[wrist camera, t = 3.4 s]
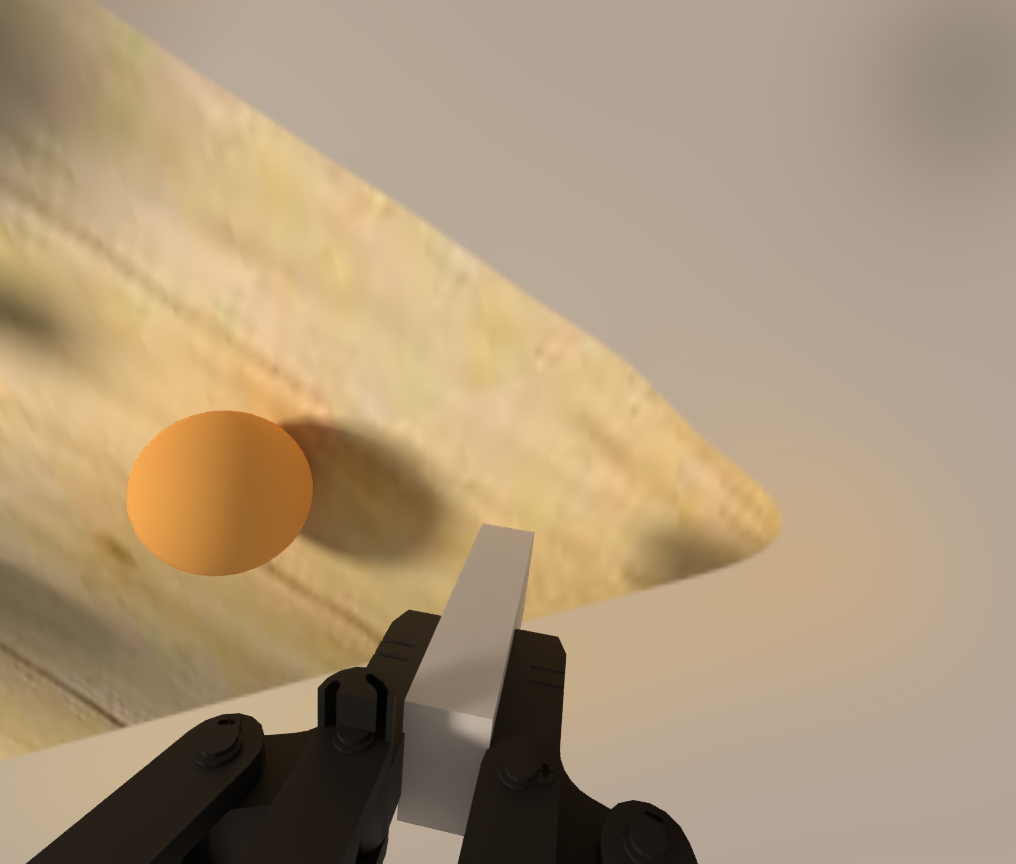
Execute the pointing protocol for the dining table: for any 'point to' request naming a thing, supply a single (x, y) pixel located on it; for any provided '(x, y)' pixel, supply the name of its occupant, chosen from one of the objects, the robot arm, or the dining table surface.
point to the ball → (219, 493)
